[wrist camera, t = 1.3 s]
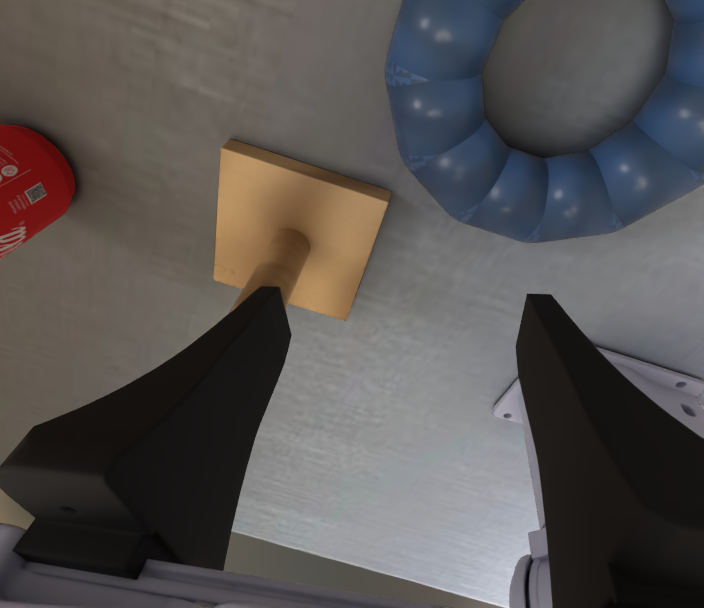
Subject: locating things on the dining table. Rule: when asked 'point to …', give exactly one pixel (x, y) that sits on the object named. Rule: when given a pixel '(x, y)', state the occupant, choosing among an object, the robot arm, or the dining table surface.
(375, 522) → the dining table surface
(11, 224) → the beverage can
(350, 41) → the dining table surface
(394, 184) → the dining table surface
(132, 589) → the robot arm
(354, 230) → the stand
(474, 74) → the ring
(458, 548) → the dining table surface
